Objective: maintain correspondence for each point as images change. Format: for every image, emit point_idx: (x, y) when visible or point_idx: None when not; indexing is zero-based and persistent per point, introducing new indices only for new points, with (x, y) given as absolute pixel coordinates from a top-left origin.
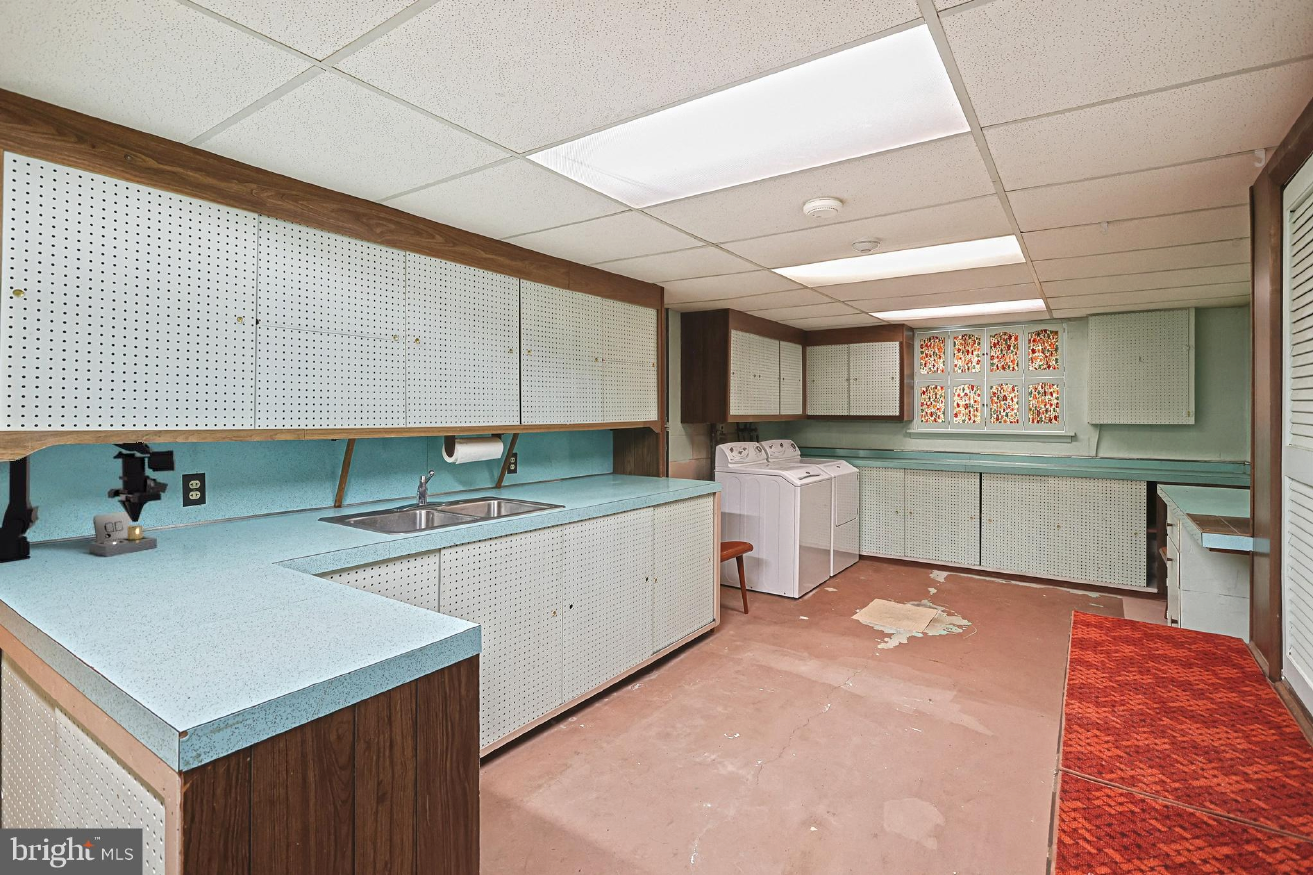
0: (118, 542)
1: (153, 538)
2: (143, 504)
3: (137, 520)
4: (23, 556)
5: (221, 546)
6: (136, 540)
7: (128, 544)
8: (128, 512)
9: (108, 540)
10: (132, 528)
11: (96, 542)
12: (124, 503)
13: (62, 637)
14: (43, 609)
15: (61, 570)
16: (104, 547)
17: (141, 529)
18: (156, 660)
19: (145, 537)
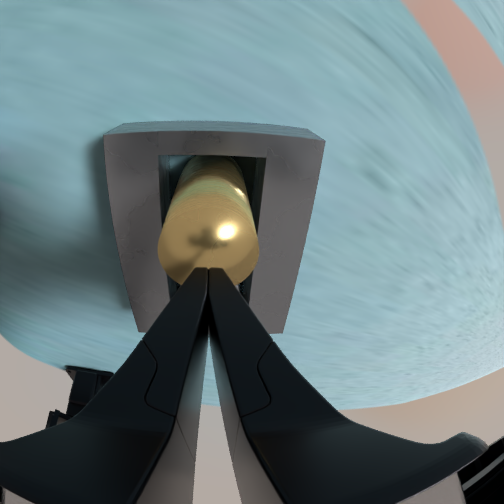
0: (236, 285)
1: (300, 145)
2: (345, 432)
3: (226, 277)
4: (105, 380)
5: (491, 46)
6: (264, 222)
7: (297, 267)
8: (201, 396)
9: (137, 284)
10: (241, 275)
11: (149, 319)
12: (191, 497)
13: (486, 374)
14: (446, 385)
15: (319, 378)
16: (267, 330)
17: (246, 212)
18: None
19: (218, 150)
